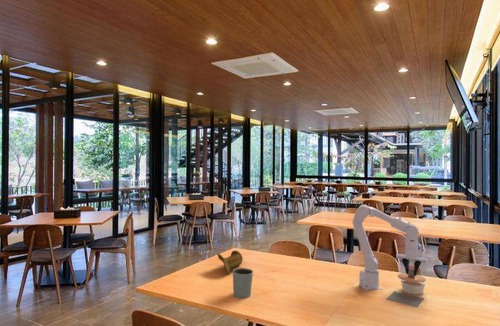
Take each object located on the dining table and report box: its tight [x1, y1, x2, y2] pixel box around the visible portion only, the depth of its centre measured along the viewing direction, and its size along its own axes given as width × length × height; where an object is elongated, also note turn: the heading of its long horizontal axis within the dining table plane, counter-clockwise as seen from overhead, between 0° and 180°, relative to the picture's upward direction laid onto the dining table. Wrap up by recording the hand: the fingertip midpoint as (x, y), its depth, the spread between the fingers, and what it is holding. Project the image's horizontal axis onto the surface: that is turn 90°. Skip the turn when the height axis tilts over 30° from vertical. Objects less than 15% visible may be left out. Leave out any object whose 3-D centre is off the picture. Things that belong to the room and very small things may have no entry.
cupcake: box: [404, 261, 422, 276], centre depth 193 cm, size 9×8×12 cm
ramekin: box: [400, 279, 426, 295], centre depth 171 cm, size 11×11×5 cm
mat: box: [386, 290, 425, 308], centre depth 160 cm, size 14×14×1 cm
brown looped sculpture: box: [217, 250, 243, 275], centre depth 203 cm, size 18×13×22 cm
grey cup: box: [232, 267, 254, 299], centre depth 163 cm, size 10×10×12 cm
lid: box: [397, 268, 427, 283], centre depth 169 cm, size 13×13×5 cm
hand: (411, 274), depth 169 cm, fingers closed on lid, 3 cm apart
